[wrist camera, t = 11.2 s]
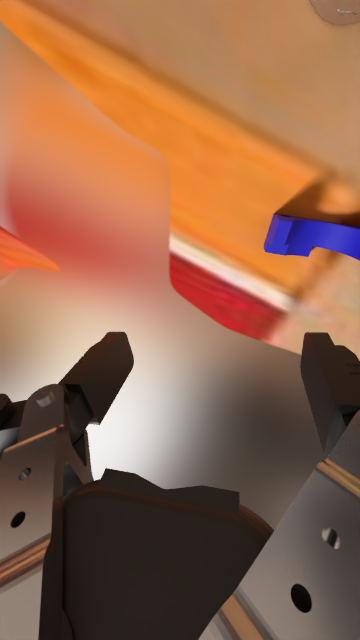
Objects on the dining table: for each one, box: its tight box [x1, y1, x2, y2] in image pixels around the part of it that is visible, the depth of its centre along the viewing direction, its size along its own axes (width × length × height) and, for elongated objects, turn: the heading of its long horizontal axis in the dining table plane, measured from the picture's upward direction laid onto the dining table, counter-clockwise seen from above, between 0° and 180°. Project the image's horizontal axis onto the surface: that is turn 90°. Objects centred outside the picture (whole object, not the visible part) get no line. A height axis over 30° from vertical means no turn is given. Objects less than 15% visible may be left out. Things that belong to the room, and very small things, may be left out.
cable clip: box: [264, 214, 360, 261], centre depth 30 cm, size 12×4×6 cm, turn 83°
